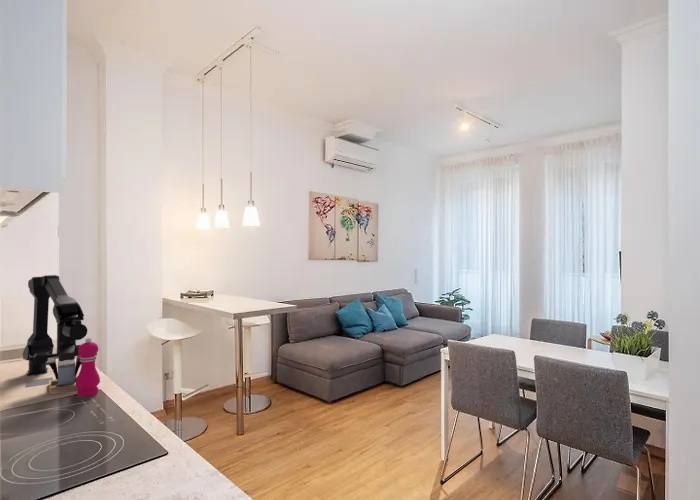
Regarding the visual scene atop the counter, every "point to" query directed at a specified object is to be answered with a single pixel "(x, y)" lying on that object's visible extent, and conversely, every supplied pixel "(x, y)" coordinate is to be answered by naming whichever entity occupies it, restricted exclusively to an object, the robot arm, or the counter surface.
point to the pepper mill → (87, 369)
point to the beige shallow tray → (55, 389)
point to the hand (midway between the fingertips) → (66, 378)
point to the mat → (38, 382)
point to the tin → (66, 372)
